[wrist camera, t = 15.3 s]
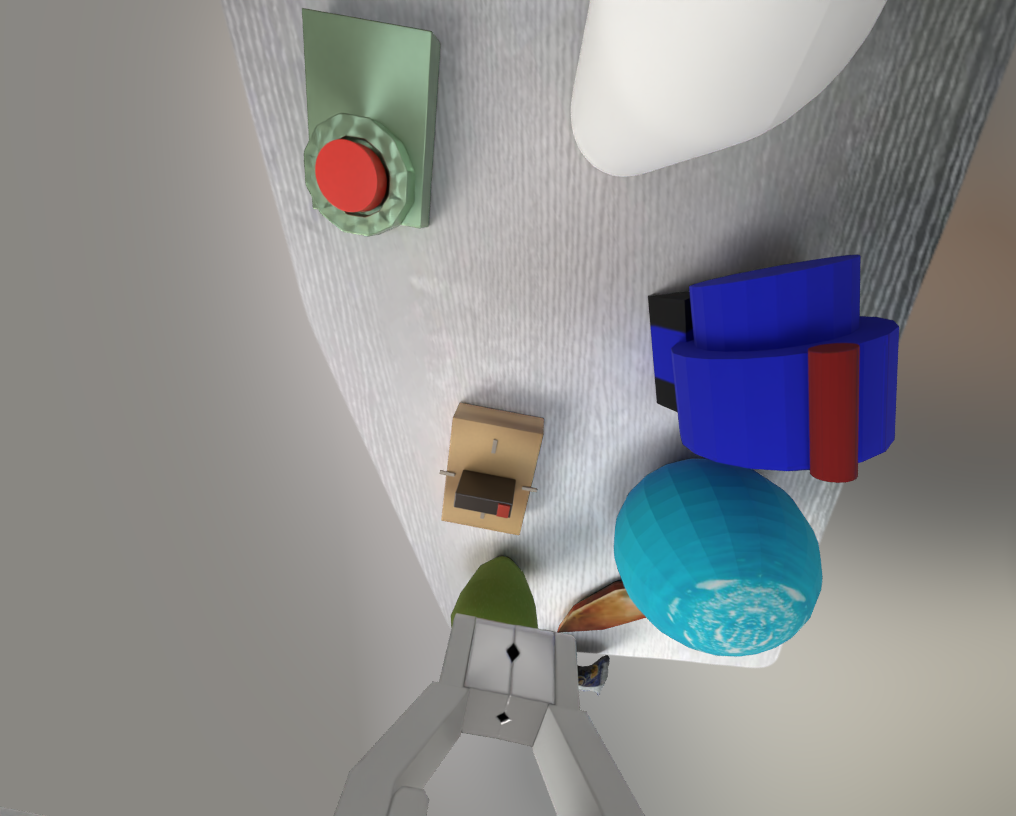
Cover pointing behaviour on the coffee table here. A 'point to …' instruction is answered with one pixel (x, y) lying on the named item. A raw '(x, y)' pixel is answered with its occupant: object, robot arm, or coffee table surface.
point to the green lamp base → (373, 111)
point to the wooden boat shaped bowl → (602, 610)
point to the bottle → (703, 73)
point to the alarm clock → (778, 369)
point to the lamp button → (350, 176)
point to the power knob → (485, 493)
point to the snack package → (593, 675)
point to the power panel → (492, 460)
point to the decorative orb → (717, 557)
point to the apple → (498, 595)
